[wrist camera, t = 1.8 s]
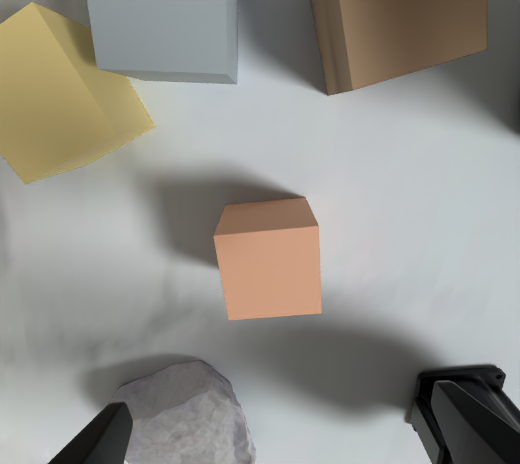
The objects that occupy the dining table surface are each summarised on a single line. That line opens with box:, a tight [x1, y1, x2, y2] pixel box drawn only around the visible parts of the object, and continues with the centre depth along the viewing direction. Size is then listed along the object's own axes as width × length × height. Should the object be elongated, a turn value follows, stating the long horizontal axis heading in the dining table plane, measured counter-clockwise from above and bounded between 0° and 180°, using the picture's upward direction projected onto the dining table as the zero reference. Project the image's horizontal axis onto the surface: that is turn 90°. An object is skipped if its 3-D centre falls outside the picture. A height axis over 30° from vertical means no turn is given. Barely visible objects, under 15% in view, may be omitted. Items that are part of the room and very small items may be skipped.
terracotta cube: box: [213, 197, 322, 320], centre depth 17 cm, size 5×5×5 cm
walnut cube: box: [311, 0, 487, 96], centre depth 13 cm, size 5×5×5 cm
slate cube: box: [87, 0, 238, 84], centre depth 13 cm, size 5×5×5 cm
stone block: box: [108, 361, 256, 464], centre depth 25 cm, size 12×5×10 cm
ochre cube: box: [0, 2, 156, 184], centre depth 14 cm, size 5×5×5 cm
